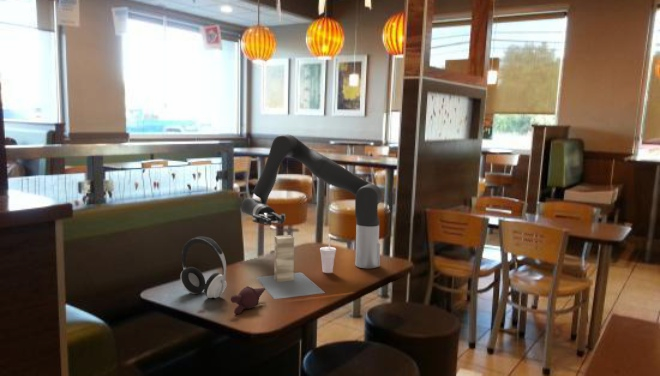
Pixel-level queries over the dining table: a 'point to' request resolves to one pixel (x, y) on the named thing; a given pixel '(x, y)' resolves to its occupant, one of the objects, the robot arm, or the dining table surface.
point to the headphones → (195, 279)
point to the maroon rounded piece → (247, 298)
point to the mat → (289, 286)
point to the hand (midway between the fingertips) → (275, 222)
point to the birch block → (284, 258)
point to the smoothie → (327, 258)
